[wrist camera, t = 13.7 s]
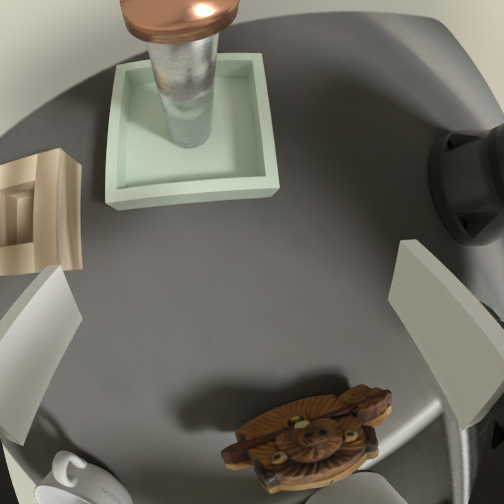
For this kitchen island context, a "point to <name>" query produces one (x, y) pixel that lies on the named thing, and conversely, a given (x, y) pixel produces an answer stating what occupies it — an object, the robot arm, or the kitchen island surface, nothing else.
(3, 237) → the block
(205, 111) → the pin
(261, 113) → the tray
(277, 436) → the wooden carving
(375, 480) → the cylinder vase
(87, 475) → the teacup
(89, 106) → the kitchen island surface
